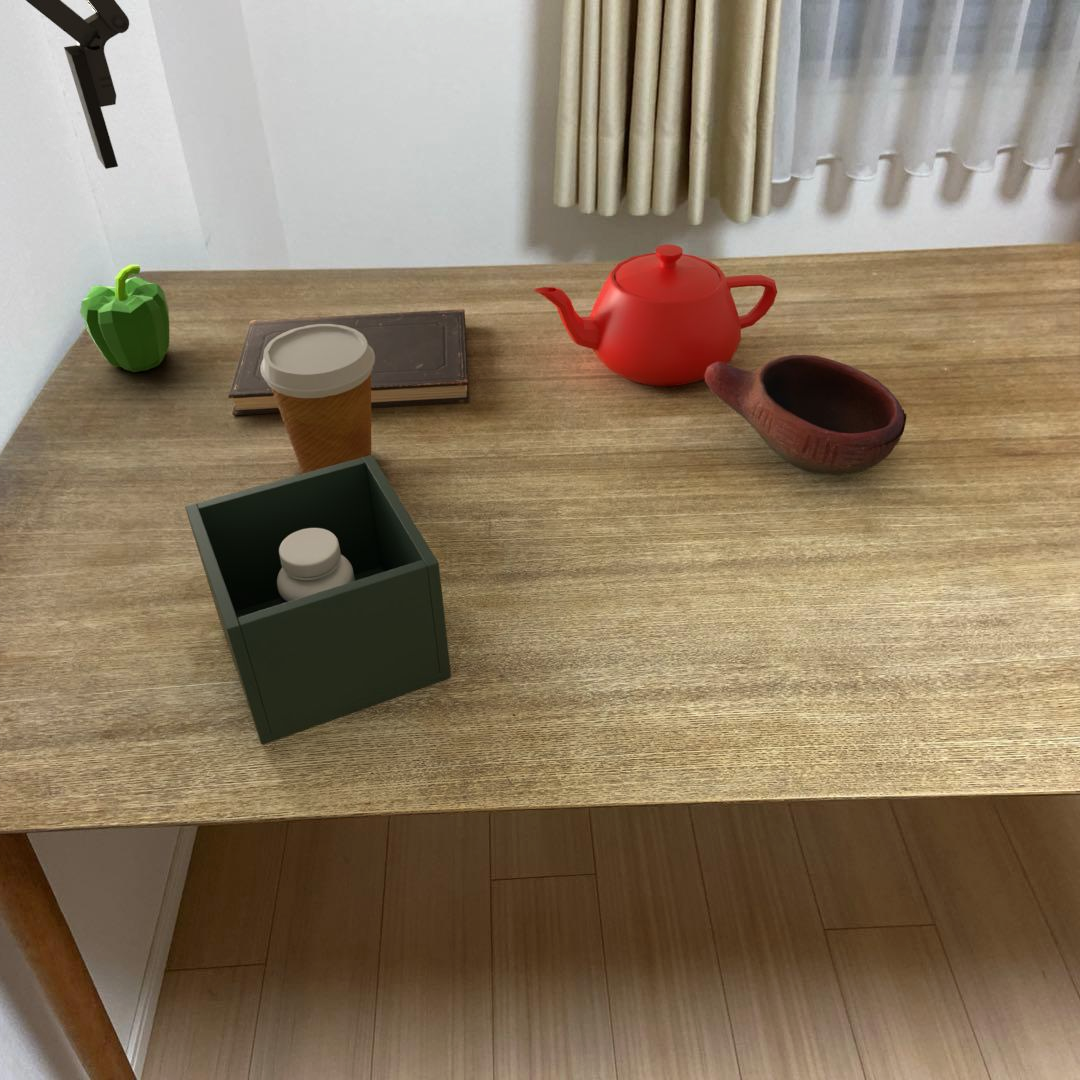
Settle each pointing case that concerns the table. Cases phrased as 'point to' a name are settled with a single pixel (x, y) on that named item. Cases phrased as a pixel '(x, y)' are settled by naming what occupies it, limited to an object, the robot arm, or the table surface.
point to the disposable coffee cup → (322, 392)
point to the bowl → (814, 411)
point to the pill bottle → (311, 564)
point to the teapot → (663, 317)
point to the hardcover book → (400, 358)
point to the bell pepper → (128, 321)
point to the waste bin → (323, 597)
